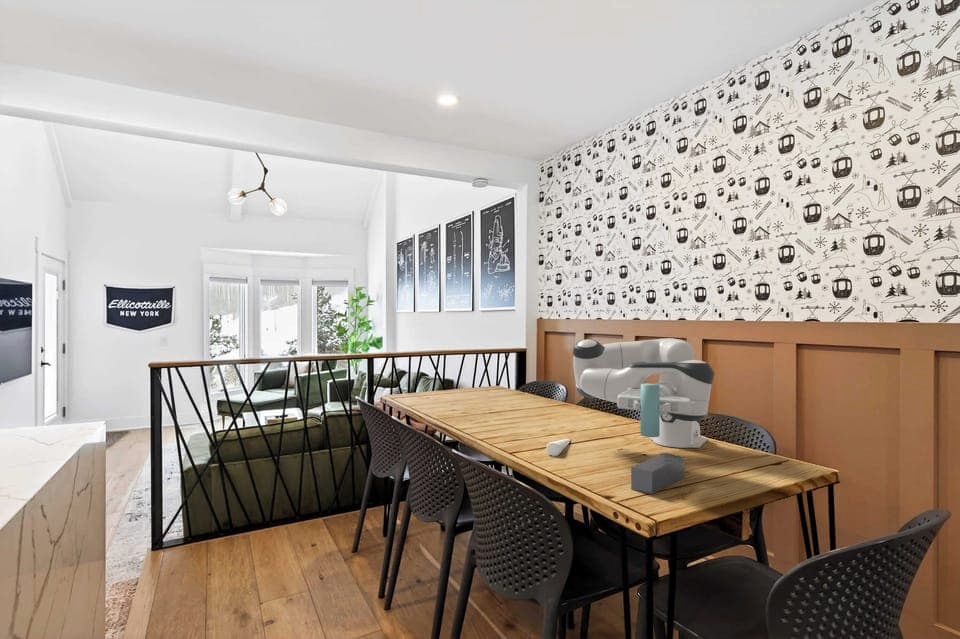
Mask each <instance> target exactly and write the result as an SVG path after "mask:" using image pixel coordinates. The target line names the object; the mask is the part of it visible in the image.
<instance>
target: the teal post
mask: <svg viewBox="0 0 960 639" xmlns="http://www.w3.org/2000/svg"><path fill="white" fill-rule="evenodd" d="M659 405H660V385H658V384H655V383H643V384H641V411H640V436H642V437H647V438H650V437H659V436H660V412H659V409H660V408H659Z"/></svg>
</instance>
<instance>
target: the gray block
mask: <svg viewBox="0 0 960 639" xmlns="http://www.w3.org/2000/svg"><path fill="white" fill-rule="evenodd" d="M630 470H631V471H630V487H631V490H633V489H634V491H637V490H638V492H641V493H644V492H645V493H646V494H648V495H654V494H656V493H658V492H659V491H661V490H663V489H665V488H667V487H669V486H670V485H672V484H674V483H677V482H678V481H680V480H682V479H685V456H681V455H677V454H672V453H666V452H663V453H661V454H658V455H655V456H653V457H651V458H648V459H647V460H645V461H642V462H640V463H638V464H636V465H633V466H631V467H630ZM645 493H644V494H645Z"/></svg>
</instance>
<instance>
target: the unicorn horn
mask: <svg viewBox="0 0 960 639" xmlns="http://www.w3.org/2000/svg"><path fill="white" fill-rule="evenodd" d="M570 442H571V438H565V439H564V438H563V439H559V440H555V441H550V442H548V443H547V445H546V454H548V455H549V456H551V455H552V456H551V457H558V456H559V455H560V454H561V453H562V452H563V451H564V450H565V449H566V447H567V446H568V445H569V443H570Z"/></svg>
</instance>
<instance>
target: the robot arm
mask: <svg viewBox="0 0 960 639" xmlns="http://www.w3.org/2000/svg"><path fill="white" fill-rule="evenodd" d="M572 355H573V357H572V364H573V365H572V366H573V372H574V380H575V388H576V391H577V393H578V394H579V395H581V396H582V397H584V398H589V399H590V398H592V399H593V398H596V399H597V398H598V399H600V400H604V401H607V402H612V403H616V405H617V408H618V409H621V410H623V409H625V410H631V411H638V412H641V384H645V383H644V382H645V381H646V380H647V378H648V377H650V376H651V375H659V379H658V382H655V383H654V384H658V385H660V405H659V408H660V409H659V412H660V436H659V437H649V440H651V441H653V442H654V443H655V444H656V445H660V446H664V447H669V448H670V447H671V448H679V449H680V448H681V449H682V448H684V449H685V448H686V449H687V448H694V449H695V448H696V449H699V448H701V447H702V446H703V445H704V444H705V443H706V441H707V440H708V438H707V437H706V436H704V435H701V426H700V424H699V423H698V421H699V420H702V419H704V418H705V417H706V416H707V415H708V412H709V404H710V398H711V391H712V385H713V382H714V377H715V374H716V373H715V371H714V369H713V368H712V366H711V365H710V364H709V363H708V362H706V361H704V360H699V359H695V358H696V356H695V355H696V354H695V350H694V348H693V346H692V345H691V344H690V343H689V342H687V340H684V339H679V338H678V339H677V338H672V337H667V338H666V337H665V338H658V339H657V338H655V339H648V340H646V339H644V340H636V341H635V340H633V341H619V342H611V343H604V344H601V343H600V342H599V341H597V340H595V339H591V338H590V339H589V338H586V339H581V340H579V341H577V342H576V343H575V344H574V345H573V349H572Z"/></svg>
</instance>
